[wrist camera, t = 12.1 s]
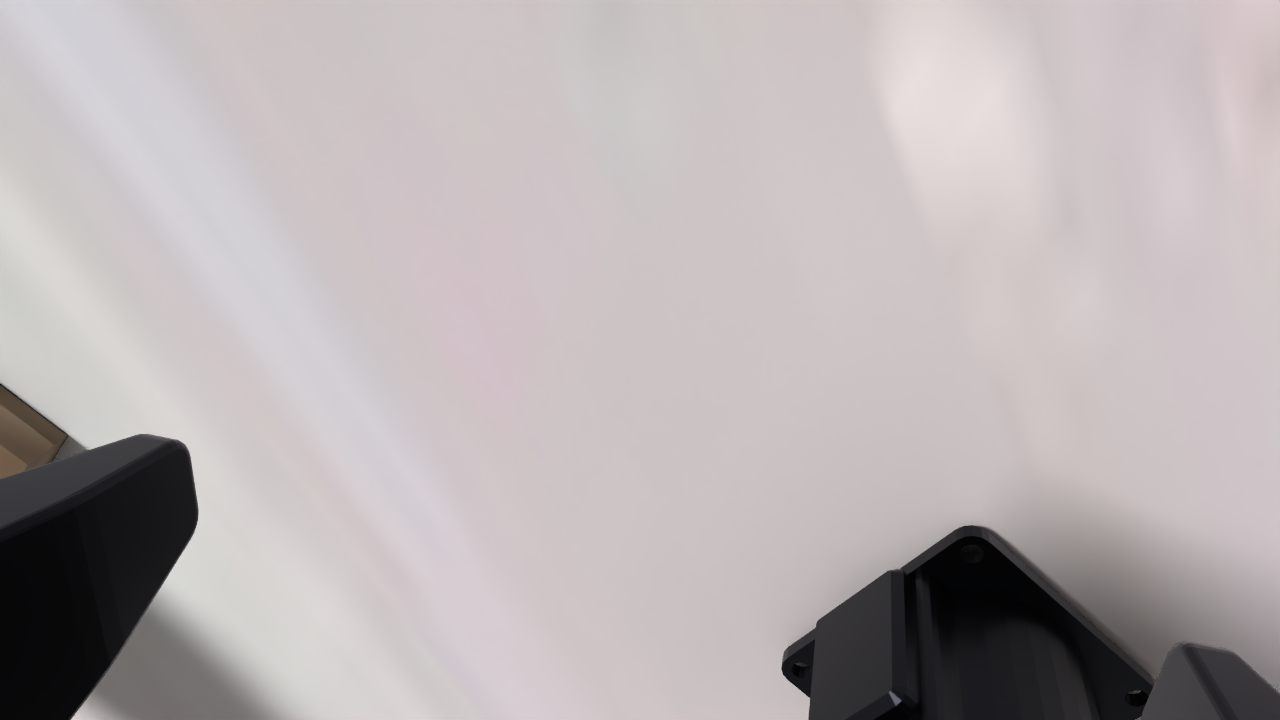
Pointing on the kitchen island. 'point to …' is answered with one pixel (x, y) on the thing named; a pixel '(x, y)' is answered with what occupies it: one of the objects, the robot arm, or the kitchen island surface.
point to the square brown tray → (25, 436)
